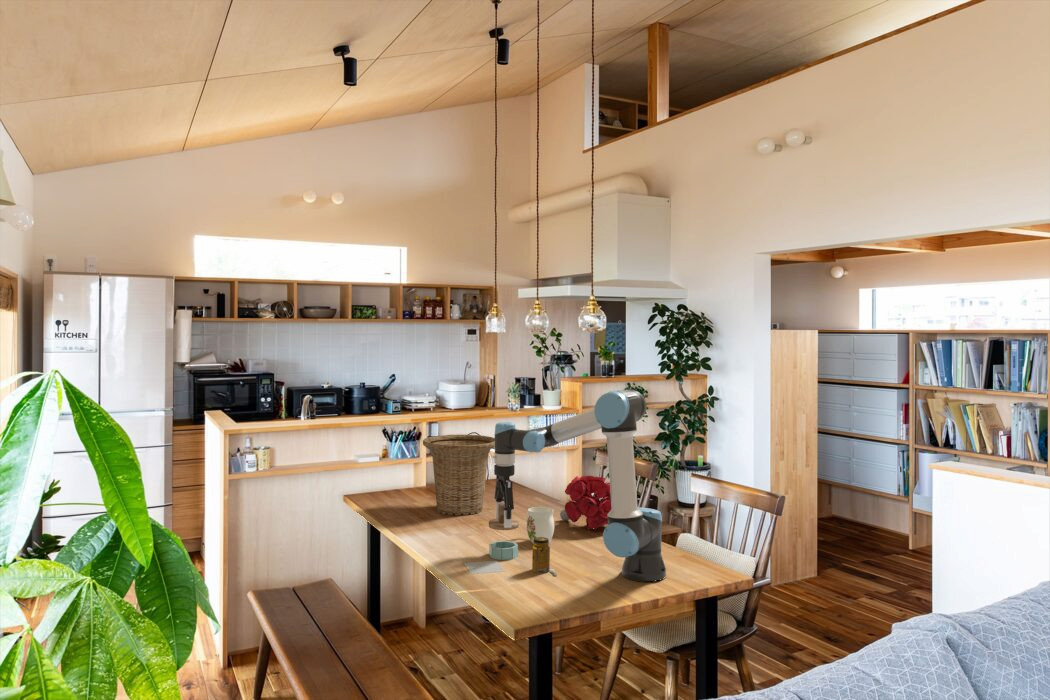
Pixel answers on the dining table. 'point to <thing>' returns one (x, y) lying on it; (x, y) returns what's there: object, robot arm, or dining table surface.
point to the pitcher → (540, 523)
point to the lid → (501, 520)
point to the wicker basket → (459, 471)
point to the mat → (484, 567)
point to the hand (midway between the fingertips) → (503, 523)
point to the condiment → (541, 556)
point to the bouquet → (588, 501)
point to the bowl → (503, 550)
